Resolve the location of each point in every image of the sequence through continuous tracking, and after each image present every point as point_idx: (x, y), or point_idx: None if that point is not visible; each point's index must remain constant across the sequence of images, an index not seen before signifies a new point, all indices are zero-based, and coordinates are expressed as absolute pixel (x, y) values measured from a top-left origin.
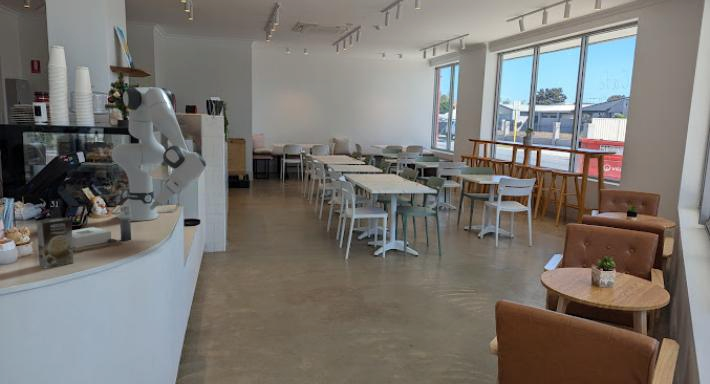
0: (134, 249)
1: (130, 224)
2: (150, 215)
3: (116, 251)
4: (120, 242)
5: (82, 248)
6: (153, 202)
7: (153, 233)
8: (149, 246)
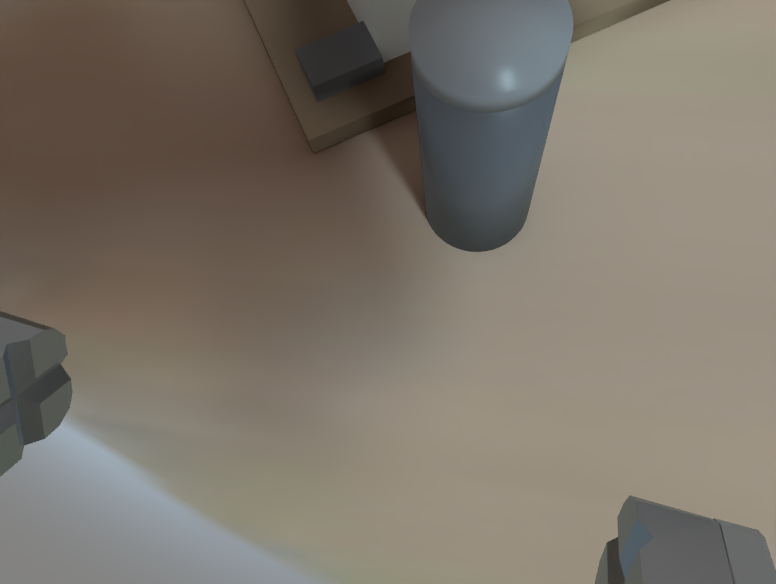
0: (40, 241)
1: (466, 161)
2: None
3: (66, 106)
4: (307, 137)
5: None
6: (646, 550)
7: None
8: None
